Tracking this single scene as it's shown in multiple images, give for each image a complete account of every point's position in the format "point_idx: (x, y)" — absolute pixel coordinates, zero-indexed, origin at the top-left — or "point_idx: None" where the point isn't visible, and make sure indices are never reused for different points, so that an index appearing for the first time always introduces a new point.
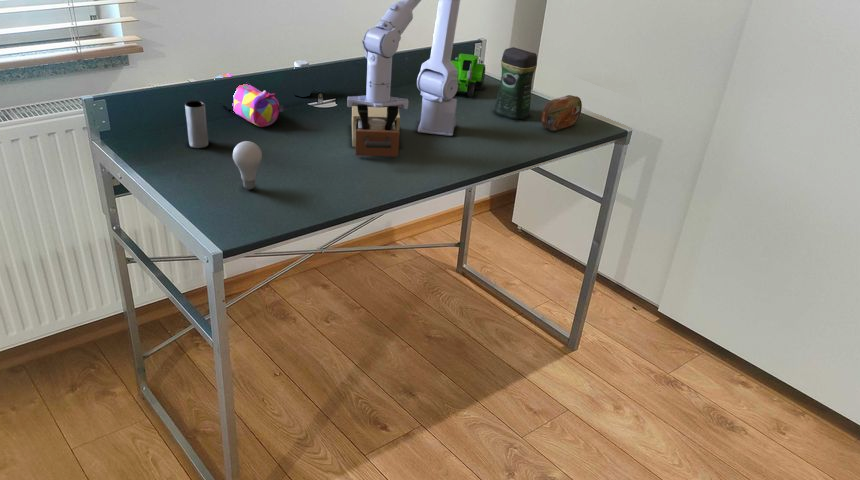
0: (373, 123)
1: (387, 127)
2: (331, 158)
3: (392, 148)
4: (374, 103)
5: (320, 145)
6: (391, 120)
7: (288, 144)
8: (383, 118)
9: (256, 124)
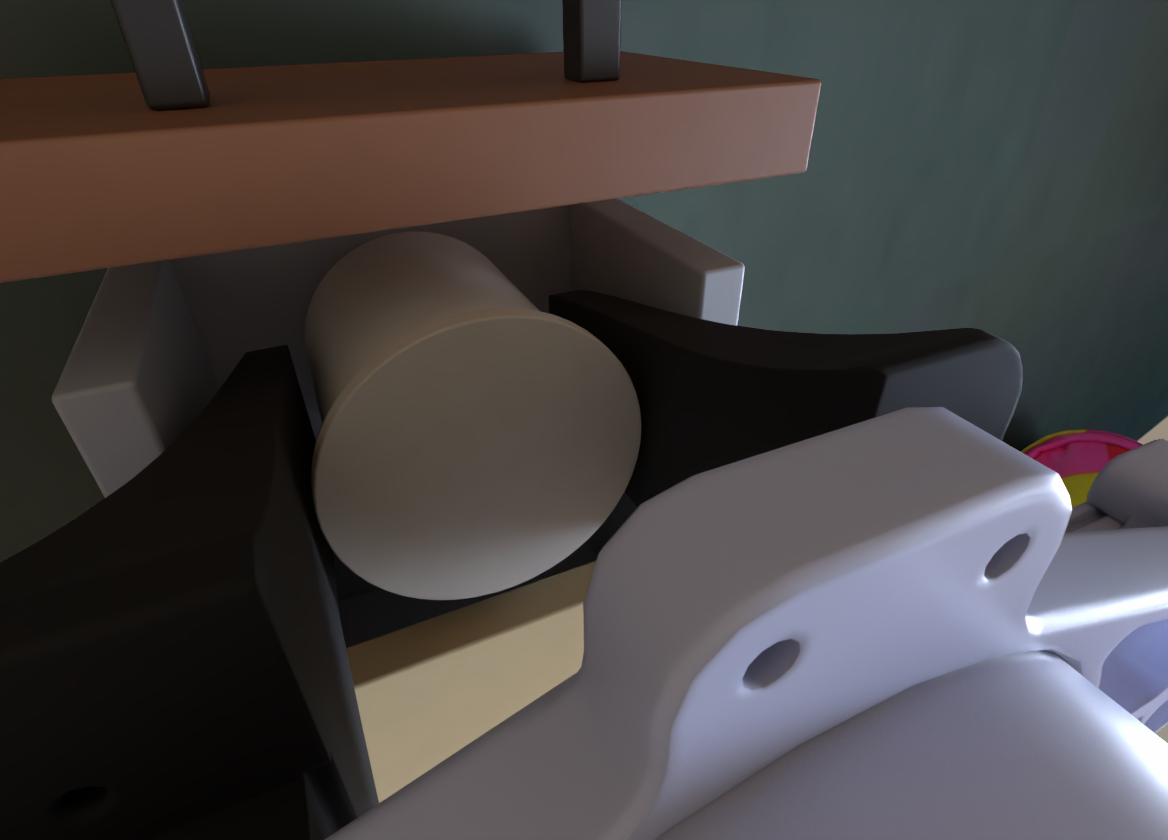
0: (555, 404)
1: (268, 403)
2: (799, 38)
3: (91, 87)
4: (1024, 601)
5: (826, 304)
6: (163, 495)
7: (991, 267)
8: (404, 649)
9: (1075, 430)
